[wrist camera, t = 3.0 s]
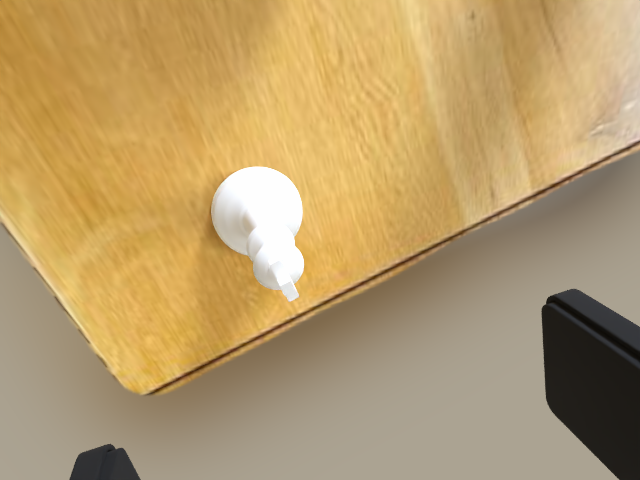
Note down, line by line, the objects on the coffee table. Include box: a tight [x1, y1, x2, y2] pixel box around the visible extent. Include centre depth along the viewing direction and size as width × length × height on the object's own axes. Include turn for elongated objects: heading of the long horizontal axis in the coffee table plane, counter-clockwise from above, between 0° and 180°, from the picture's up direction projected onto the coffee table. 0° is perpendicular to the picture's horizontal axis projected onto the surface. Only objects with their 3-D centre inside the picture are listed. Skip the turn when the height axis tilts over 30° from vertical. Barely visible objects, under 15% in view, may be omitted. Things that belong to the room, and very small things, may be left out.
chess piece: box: [211, 167, 304, 302], centre depth 21 cm, size 5×5×10 cm
